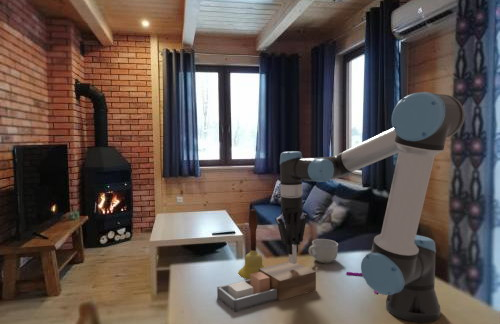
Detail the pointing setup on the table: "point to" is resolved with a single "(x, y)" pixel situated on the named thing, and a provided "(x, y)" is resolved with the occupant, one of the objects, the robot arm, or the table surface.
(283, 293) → the wooden block
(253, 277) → the tile rear
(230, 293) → the white square block
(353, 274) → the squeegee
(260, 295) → the tray
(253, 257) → the handbell
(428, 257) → the robot arm
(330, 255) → the teacup
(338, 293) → the table surface
